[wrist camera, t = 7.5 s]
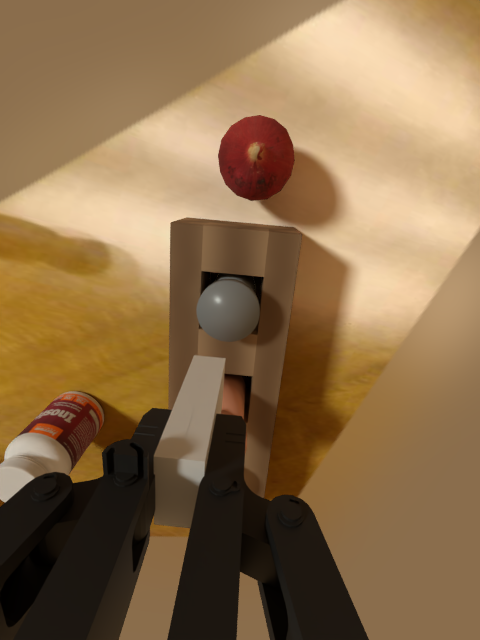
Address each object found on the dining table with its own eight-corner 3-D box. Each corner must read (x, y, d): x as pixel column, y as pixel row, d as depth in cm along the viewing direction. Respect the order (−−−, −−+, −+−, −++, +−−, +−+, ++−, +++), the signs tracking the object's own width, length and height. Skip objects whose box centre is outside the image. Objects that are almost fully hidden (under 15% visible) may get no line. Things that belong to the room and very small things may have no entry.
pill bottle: (94, 384, 38) (33, 455, 28) (113, 429, 40) (63, 510, 30) (45, 393, 39) (-33, 465, 28) (66, 436, 41) (0, 518, 31)
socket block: (179, 469, 42) (167, 511, 36) (186, 217, 31) (170, 222, 25) (260, 477, 41) (260, 522, 36) (294, 227, 31) (302, 234, 25)
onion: (291, 195, 30) (302, 195, 22) (228, 203, 30) (217, 205, 23) (287, 121, 28) (297, 94, 20) (219, 131, 28) (205, 108, 21)
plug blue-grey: (209, 306, 34) (195, 338, 26) (212, 259, 32) (197, 278, 25) (256, 311, 34) (256, 344, 26) (262, 264, 32) (262, 284, 24)
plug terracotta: (199, 405, 33) (181, 466, 26) (201, 362, 32) (183, 414, 24) (247, 410, 33) (244, 473, 26) (252, 367, 31) (249, 421, 24)
